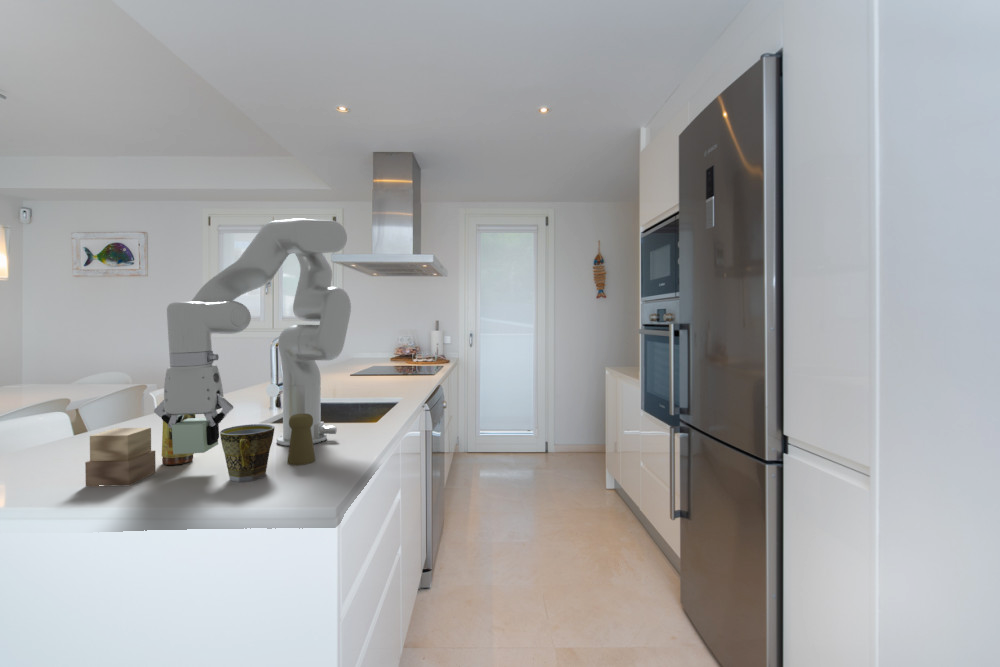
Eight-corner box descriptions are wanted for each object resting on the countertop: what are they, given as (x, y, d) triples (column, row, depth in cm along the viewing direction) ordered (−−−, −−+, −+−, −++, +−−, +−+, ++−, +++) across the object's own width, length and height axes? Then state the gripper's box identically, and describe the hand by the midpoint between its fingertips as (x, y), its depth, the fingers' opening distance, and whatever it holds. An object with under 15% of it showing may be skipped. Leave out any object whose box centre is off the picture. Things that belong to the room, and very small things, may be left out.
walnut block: (155, 473, 100) (155, 450, 100) (129, 486, 92) (128, 461, 92) (115, 474, 100) (115, 451, 100) (85, 487, 92) (85, 462, 92)
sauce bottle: (167, 468, 104) (166, 378, 103) (157, 463, 107) (156, 376, 107) (200, 461, 109) (199, 375, 109) (189, 456, 113) (189, 373, 112)
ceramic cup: (225, 472, 101) (224, 425, 101) (276, 467, 104) (276, 422, 104) (212, 492, 89) (212, 439, 88) (271, 486, 92) (270, 435, 92)
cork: (320, 458, 112) (319, 411, 112) (307, 465, 106) (306, 416, 106) (295, 457, 112) (295, 411, 112) (281, 464, 106) (281, 416, 106)
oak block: (151, 451, 100) (150, 427, 100) (127, 460, 93) (127, 435, 93) (116, 451, 99) (116, 428, 99) (90, 461, 92) (89, 435, 92)
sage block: (218, 444, 104) (216, 417, 103) (203, 452, 98) (202, 424, 97) (189, 445, 103) (187, 418, 103) (173, 454, 97) (171, 425, 97)
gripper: (242, 357, 104) (246, 437, 105) (158, 359, 102) (163, 440, 103) (225, 361, 96) (230, 447, 97) (135, 363, 95) (141, 451, 96)
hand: (196, 443), depth 100 cm, fingers closed on sage block, 6 cm apart
